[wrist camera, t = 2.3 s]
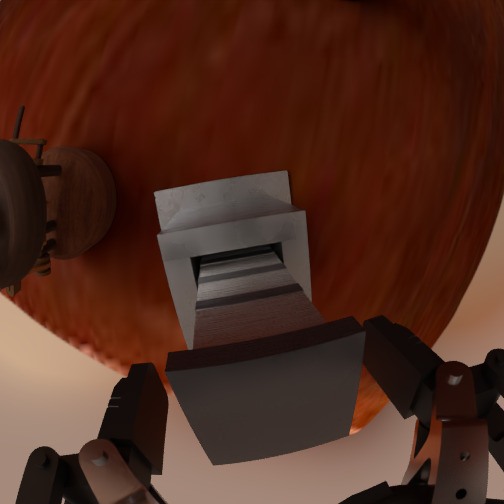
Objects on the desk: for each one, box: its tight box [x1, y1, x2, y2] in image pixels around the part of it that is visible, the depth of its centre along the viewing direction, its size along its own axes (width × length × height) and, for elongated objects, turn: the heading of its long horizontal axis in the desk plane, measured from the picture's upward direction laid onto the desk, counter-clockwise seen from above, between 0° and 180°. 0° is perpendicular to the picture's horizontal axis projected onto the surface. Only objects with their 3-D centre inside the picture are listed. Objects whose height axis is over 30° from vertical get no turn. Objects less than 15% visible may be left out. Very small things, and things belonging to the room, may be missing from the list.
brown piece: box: [0, 106, 117, 297], centre depth 13 cm, size 15×11×20 cm
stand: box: [154, 171, 312, 350], centre depth 20 cm, size 12×12×12 cm
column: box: [165, 244, 366, 465], centre depth 16 cm, size 5×5×19 cm
